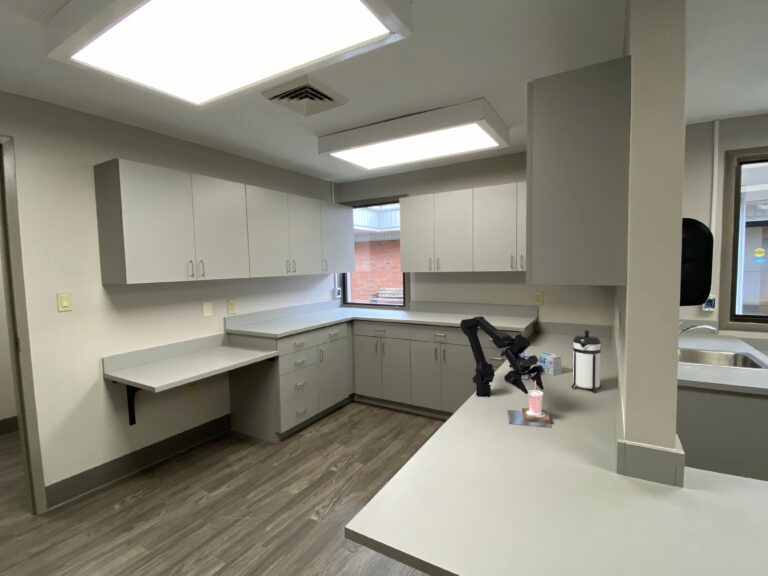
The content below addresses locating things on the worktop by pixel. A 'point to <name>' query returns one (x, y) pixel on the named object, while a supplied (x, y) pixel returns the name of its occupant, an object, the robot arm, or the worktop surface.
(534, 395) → the beverage cup
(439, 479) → the worktop surface
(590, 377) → the coffee press
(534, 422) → the blueprint plinth
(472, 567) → the worktop surface
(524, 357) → the ink cartridge box
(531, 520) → the worktop surface
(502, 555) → the worktop surface
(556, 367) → the light bulb box
